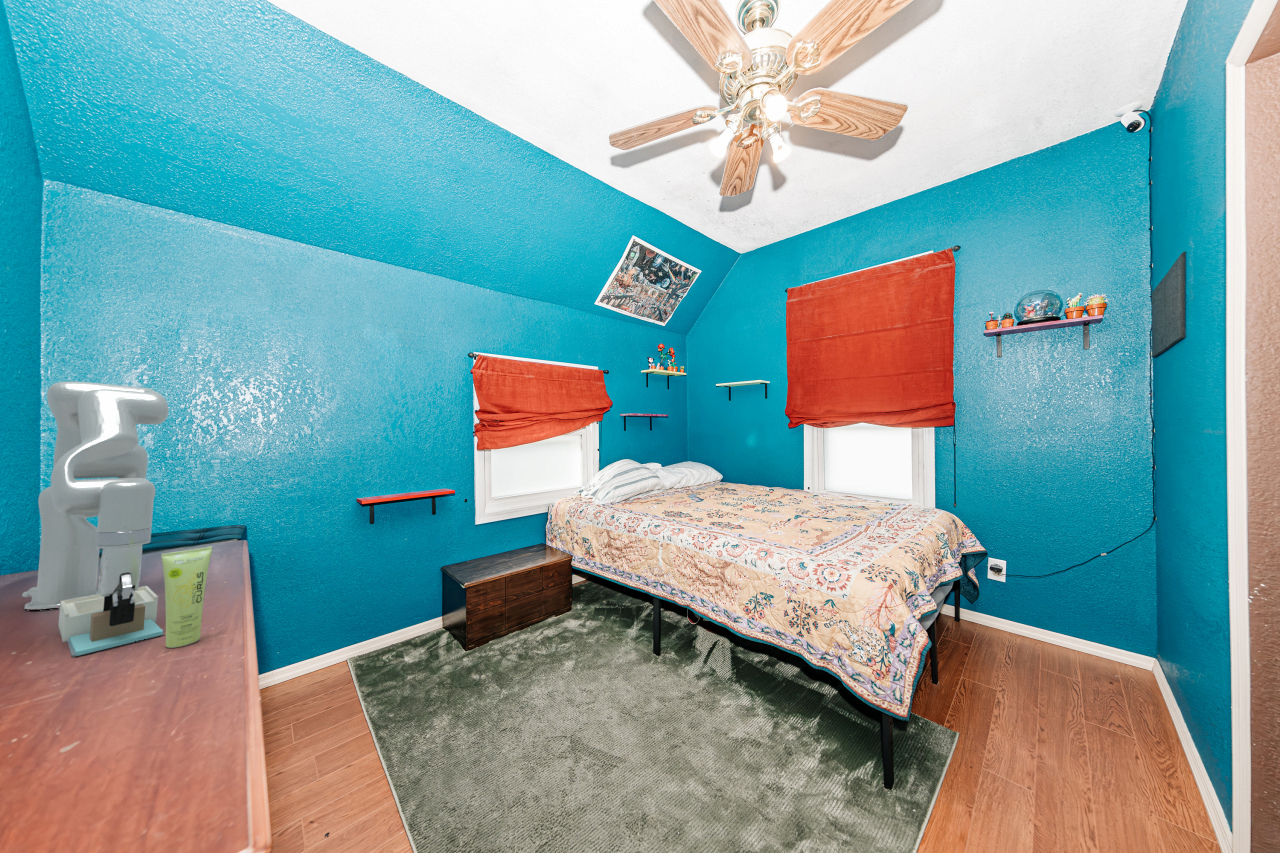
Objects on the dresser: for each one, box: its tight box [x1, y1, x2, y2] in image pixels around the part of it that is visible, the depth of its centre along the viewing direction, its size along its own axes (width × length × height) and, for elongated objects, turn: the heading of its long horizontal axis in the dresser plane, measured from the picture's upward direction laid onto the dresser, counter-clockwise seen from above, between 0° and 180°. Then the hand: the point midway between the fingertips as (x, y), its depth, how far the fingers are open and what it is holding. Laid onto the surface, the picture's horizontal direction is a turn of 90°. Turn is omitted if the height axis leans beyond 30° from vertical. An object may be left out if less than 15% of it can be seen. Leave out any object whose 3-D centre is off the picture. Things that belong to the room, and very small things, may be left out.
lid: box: [69, 604, 164, 657], centre depth 90 cm, size 12×11×6 cm
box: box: [57, 585, 159, 643], centre depth 98 cm, size 14×13×6 cm
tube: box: [160, 546, 214, 649], centre depth 89 cm, size 6×5×20 cm
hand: (118, 618), depth 90 cm, fingers open, 9 cm apart
